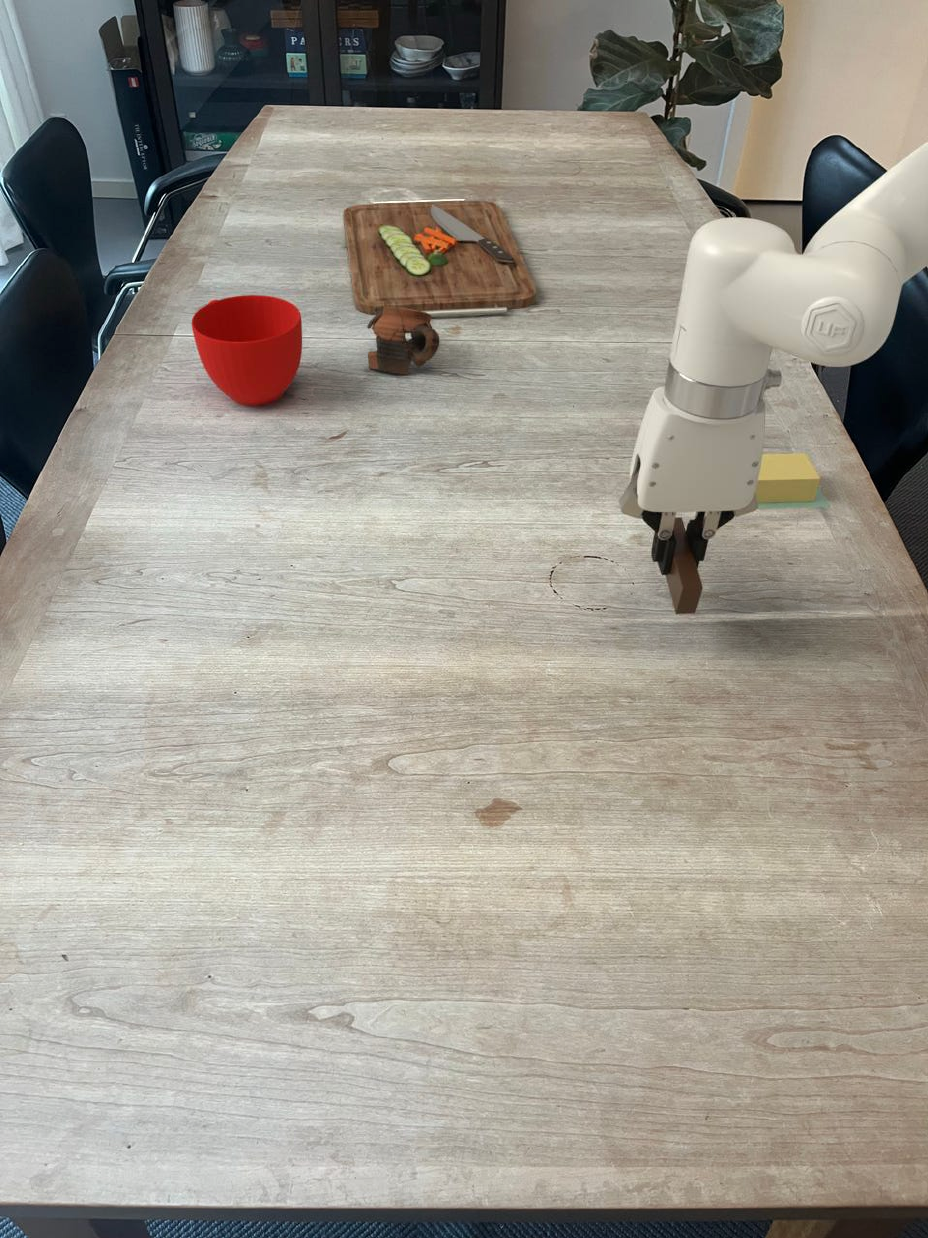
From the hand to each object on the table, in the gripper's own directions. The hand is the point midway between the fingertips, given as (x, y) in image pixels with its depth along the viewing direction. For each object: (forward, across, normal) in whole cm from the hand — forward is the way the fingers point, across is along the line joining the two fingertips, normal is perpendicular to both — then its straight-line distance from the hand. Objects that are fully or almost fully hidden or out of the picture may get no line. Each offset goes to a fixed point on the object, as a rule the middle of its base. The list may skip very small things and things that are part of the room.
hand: (675, 564), depth 91 cm
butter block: (+5, -16, -19) cm, 25 cm away
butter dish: (+6, -13, -19) cm, 24 cm away
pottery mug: (+7, +24, -52) cm, 57 cm away
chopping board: (+7, +19, -87) cm, 89 cm away
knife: (+1, 0, -4) cm, 4 cm away
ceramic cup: (+7, +44, -46) cm, 64 cm away
